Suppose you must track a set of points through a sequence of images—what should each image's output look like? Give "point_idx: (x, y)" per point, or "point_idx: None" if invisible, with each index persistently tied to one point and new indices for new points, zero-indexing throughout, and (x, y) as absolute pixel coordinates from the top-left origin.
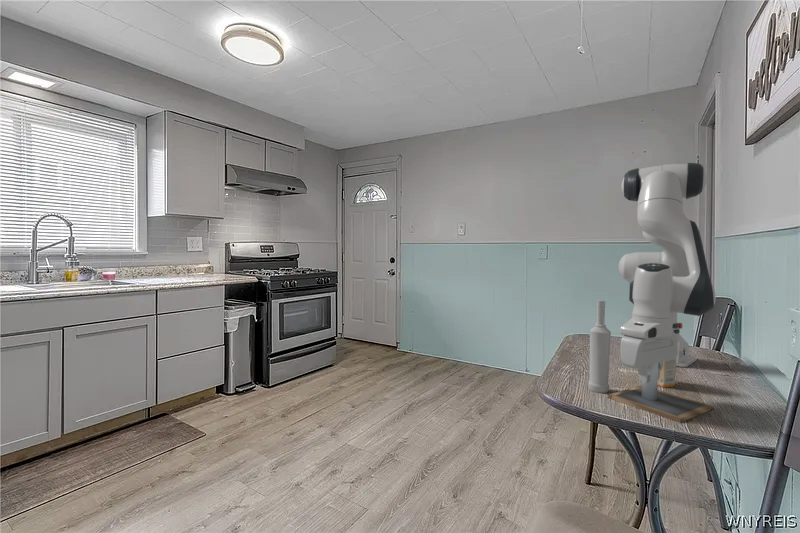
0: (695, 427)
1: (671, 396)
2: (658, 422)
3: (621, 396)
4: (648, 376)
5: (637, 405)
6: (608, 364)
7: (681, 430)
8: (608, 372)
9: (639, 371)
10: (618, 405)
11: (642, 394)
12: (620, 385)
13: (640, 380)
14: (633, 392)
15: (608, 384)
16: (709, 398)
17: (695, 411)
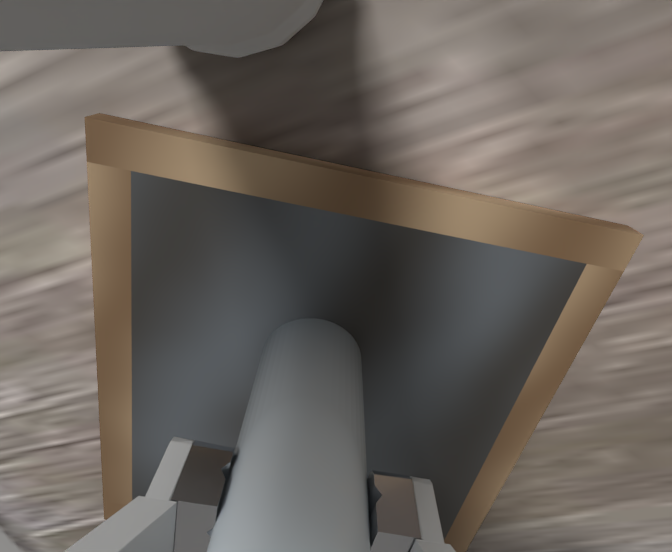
0: None
1: (470, 435)
2: (7, 449)
3: (156, 219)
4: (185, 543)
5: (98, 343)
6: (104, 47)
7: (22, 517)
8: (222, 34)
9: (91, 543)
10: (21, 238)
11: (269, 346)
12: (588, 57)
13: (171, 444)
14: (353, 251)
15: (267, 41)
16: (643, 525)
17: None
